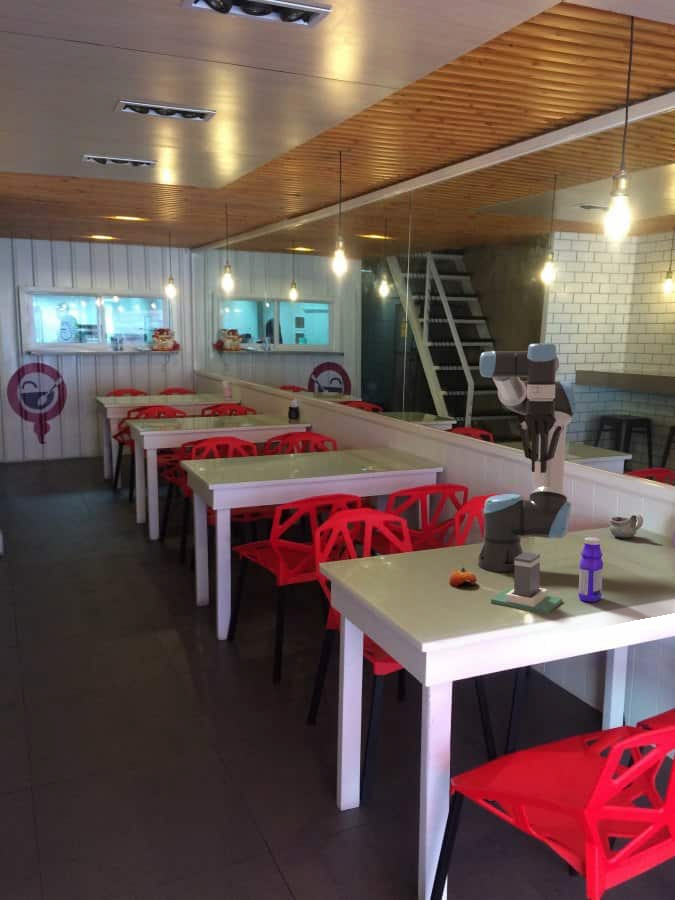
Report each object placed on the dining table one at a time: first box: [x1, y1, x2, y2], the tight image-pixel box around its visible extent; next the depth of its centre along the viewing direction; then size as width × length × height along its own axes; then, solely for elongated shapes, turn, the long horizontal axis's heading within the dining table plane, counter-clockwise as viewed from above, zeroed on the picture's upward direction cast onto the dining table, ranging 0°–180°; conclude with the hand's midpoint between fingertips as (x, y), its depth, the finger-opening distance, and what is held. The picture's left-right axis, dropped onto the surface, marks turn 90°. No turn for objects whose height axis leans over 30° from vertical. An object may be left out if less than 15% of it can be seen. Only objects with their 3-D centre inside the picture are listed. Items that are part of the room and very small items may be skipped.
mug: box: [609, 513, 644, 539], centre depth 270 cm, size 10×12×10 cm
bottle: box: [578, 536, 604, 603], centre depth 203 cm, size 7×6×17 cm
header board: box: [490, 587, 563, 615], centre depth 202 cm, size 16×12×3 cm
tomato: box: [448, 567, 478, 588], centre depth 218 cm, size 8×7×7 cm
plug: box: [513, 551, 541, 598], centre depth 202 cm, size 5×8×12 cm, turn 144°
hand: (538, 483), depth 204 cm, fingers closed
